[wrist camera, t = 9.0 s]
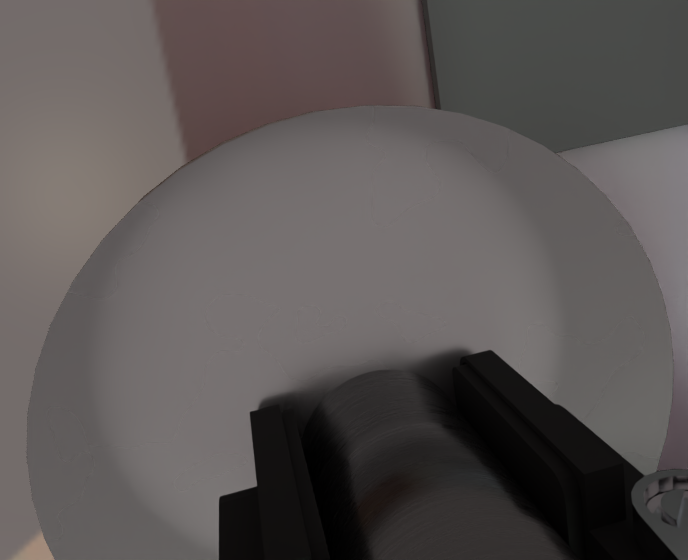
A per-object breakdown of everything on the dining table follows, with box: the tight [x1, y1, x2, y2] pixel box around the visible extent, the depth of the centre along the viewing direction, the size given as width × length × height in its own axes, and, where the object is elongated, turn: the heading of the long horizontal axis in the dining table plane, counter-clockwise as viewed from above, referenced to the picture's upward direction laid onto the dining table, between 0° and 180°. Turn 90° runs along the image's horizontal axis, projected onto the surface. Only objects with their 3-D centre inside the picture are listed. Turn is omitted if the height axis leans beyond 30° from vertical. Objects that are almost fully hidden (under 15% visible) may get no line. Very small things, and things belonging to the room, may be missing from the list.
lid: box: [27, 105, 674, 560], centre depth 9 cm, size 12×12×6 cm
